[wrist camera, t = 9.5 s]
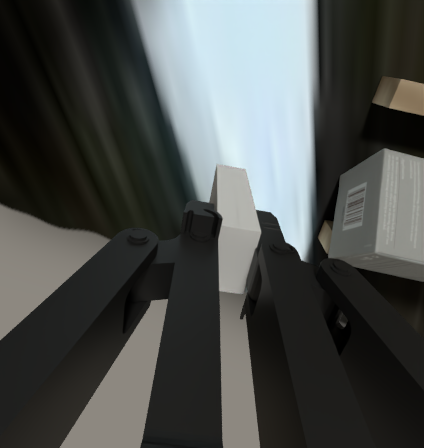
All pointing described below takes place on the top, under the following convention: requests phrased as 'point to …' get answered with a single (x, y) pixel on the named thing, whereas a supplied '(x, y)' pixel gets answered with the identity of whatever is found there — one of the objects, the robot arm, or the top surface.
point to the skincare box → (382, 216)
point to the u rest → (395, 99)
